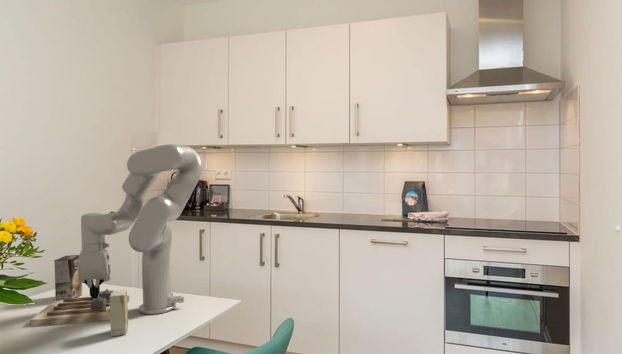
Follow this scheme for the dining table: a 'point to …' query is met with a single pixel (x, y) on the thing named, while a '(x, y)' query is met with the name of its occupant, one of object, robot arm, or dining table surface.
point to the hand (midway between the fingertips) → (94, 297)
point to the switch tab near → (98, 303)
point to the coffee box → (67, 278)
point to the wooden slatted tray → (71, 312)
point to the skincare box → (118, 313)
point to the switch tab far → (105, 294)
